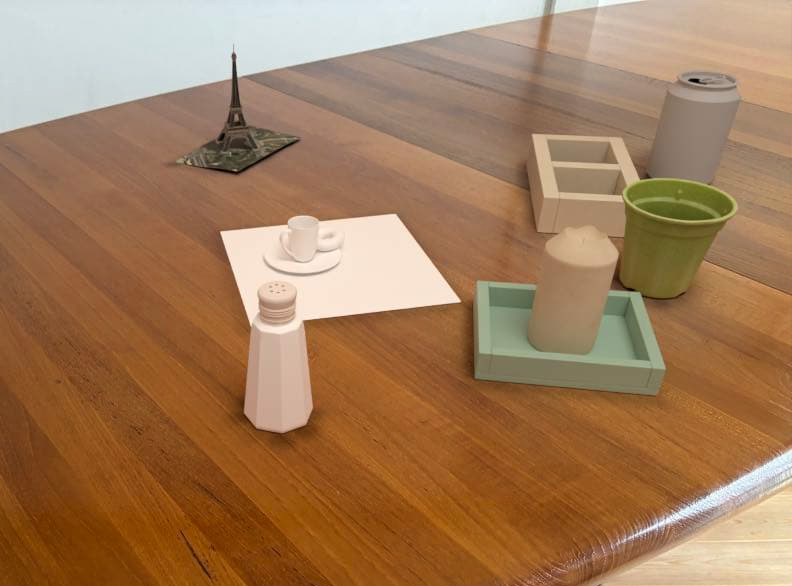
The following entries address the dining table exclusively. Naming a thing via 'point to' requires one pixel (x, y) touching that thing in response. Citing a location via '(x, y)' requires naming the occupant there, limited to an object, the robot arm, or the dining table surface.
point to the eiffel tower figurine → (237, 139)
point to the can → (694, 126)
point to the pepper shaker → (278, 363)
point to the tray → (597, 370)
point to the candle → (572, 291)
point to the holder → (579, 182)
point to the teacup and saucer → (337, 266)
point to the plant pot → (669, 233)
